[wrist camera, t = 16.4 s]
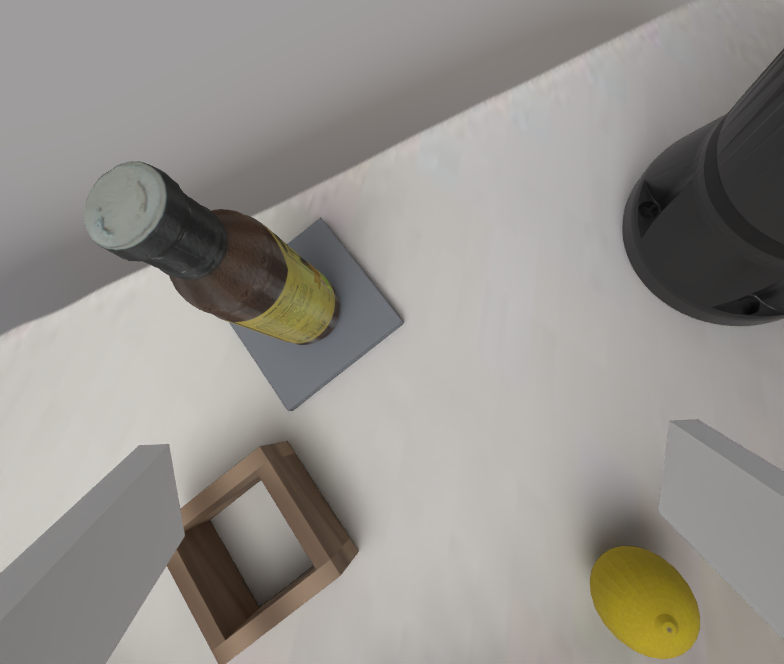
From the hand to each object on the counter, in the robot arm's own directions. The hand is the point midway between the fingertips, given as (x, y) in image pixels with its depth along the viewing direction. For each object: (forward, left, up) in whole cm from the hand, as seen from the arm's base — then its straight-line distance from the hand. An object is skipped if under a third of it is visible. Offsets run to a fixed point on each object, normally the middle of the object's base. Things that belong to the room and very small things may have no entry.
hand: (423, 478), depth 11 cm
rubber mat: (+4, -15, -23) cm, 28 cm away
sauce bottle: (+4, -15, -23) cm, 28 cm away
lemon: (-3, +15, -24) cm, 28 cm away
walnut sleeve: (+17, -2, -23) cm, 29 cm away
